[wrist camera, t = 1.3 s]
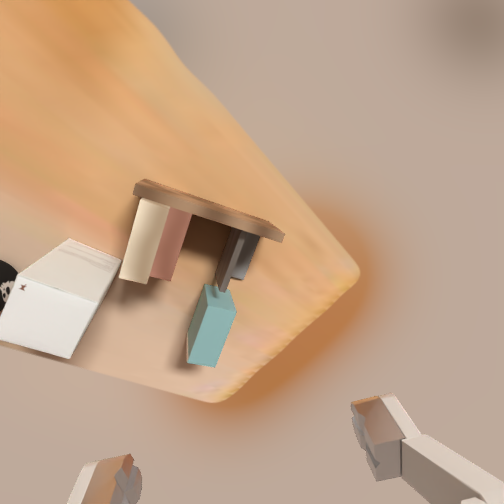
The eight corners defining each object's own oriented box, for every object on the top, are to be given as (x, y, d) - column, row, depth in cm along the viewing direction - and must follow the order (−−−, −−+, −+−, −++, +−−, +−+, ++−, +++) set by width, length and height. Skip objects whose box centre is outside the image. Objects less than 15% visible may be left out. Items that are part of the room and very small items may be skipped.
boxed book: (186, 334, 45) (186, 363, 39) (204, 283, 43) (207, 305, 37) (211, 338, 47) (215, 367, 40) (229, 289, 45) (237, 312, 38)
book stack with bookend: (125, 250, 39) (108, 275, 31) (144, 178, 37) (133, 185, 29) (245, 282, 45) (259, 310, 36) (268, 221, 43) (289, 237, 34)
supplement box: (46, 283, 38) (-14, 338, 27) (69, 236, 37) (15, 272, 26) (102, 303, 41) (69, 362, 29) (124, 260, 40) (99, 303, 28)
